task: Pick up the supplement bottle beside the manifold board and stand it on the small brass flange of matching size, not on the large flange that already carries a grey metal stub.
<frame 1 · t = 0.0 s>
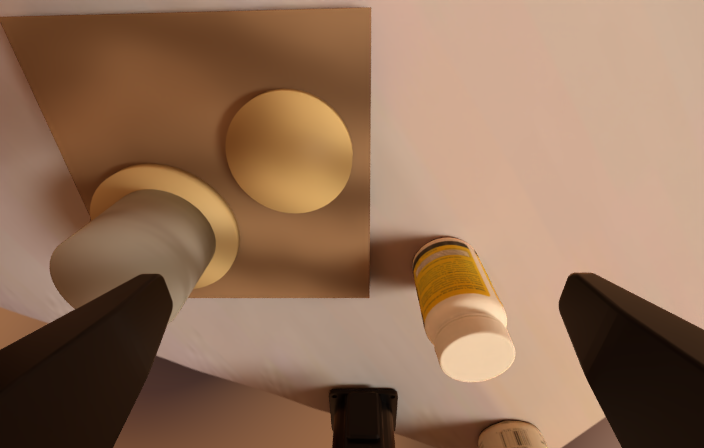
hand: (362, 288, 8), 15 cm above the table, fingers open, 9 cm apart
spray can: (507, 434, 37), on the table
supplement bottle: (443, 261, 26), on the table
manifold board: (229, 176, 22), on the table
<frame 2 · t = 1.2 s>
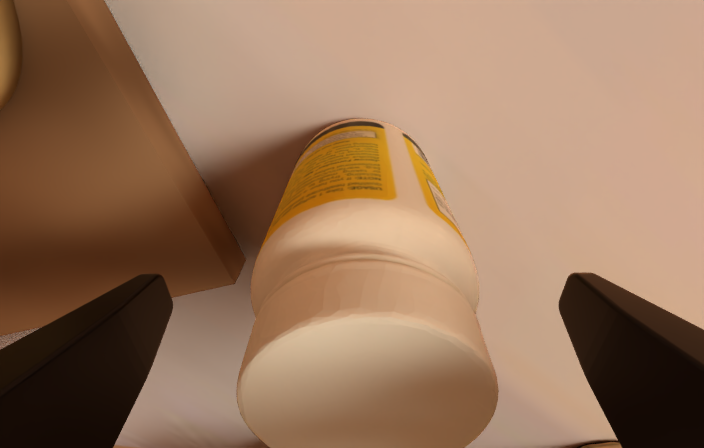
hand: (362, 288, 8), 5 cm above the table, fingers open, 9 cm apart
supplement bottle: (362, 180, 13), on the table
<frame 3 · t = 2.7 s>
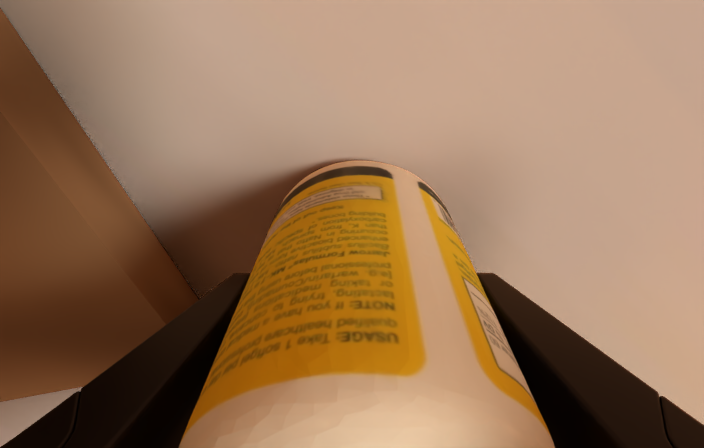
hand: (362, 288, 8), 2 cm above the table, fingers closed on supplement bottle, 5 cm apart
supplement bottle: (362, 234, 10), on the table, touching gripper
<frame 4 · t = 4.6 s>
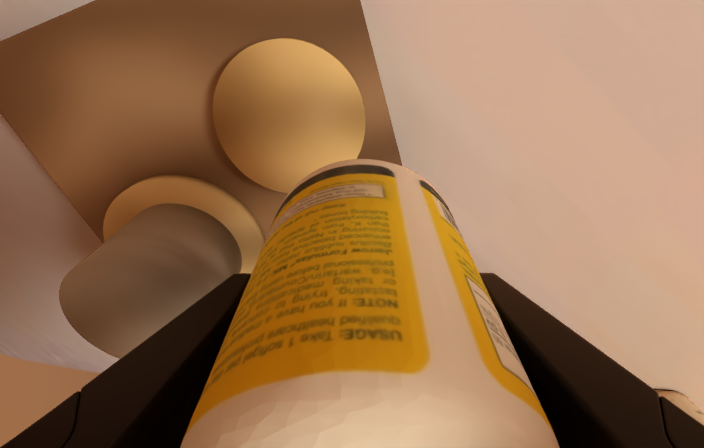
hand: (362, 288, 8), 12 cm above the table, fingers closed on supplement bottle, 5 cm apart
spray can: (645, 409, 30), on the table
supplement bottle: (363, 233, 10), point 10 cm above the table, touching gripper
manifold board: (237, 172, 20), on the table
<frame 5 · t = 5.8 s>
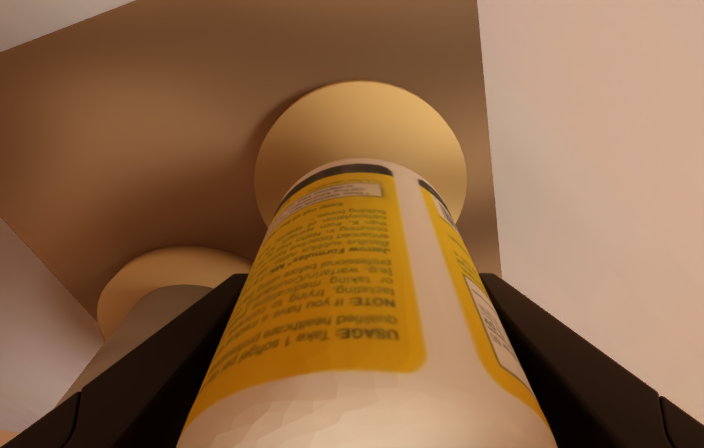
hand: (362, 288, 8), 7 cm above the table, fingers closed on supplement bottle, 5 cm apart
supplement bottle: (362, 232, 10), point 5 cm above the table, touching gripper
manifold board: (273, 236, 15), on the table
when the fingers open (5 cm above the table, at t = 6.8 s): supplement bottle drops 1 cm, resting on manifold board.
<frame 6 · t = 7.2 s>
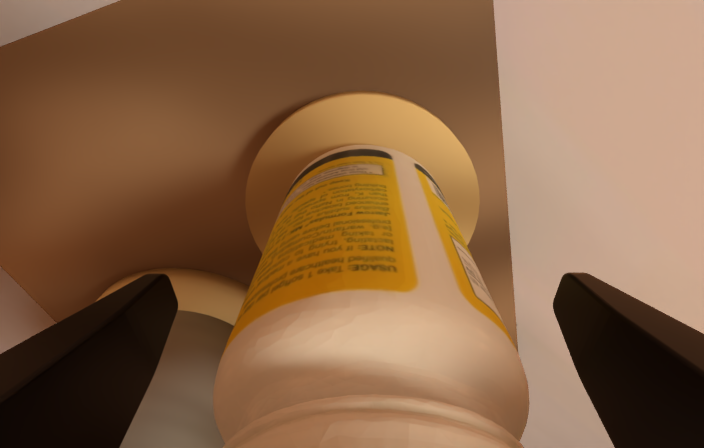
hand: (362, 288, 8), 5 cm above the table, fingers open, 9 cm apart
supplement bottle: (364, 214, 11), point 2 cm above the table, touching manifold board
manifold board: (268, 256, 14), on the table
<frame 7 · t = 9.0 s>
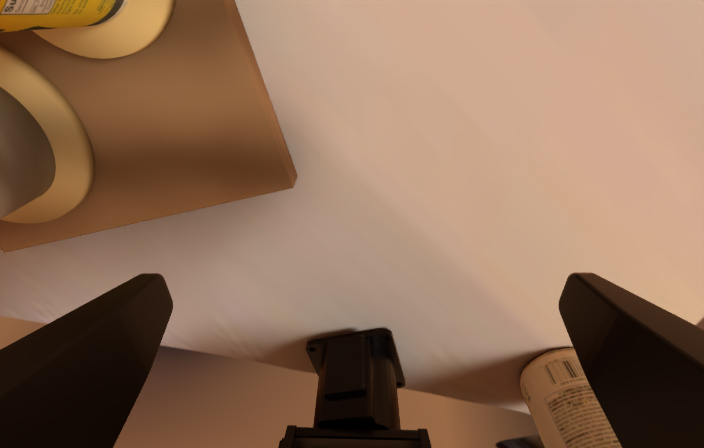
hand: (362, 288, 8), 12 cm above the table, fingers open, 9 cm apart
spray can: (559, 370, 28), on the table
manifold board: (47, 41, 16), on the table
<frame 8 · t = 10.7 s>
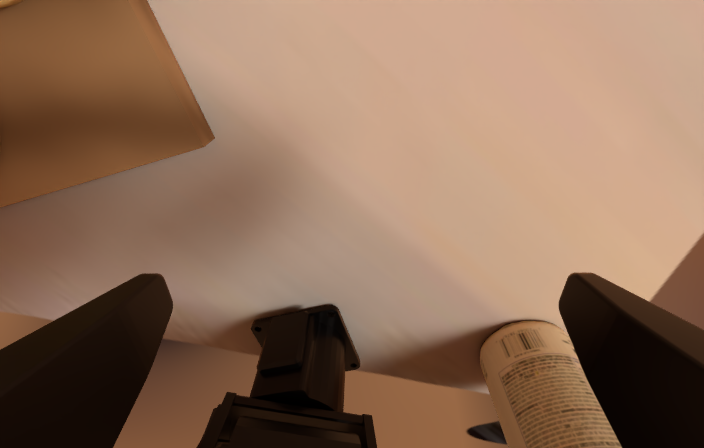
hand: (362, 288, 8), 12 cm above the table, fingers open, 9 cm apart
spray can: (520, 346, 26), on the table
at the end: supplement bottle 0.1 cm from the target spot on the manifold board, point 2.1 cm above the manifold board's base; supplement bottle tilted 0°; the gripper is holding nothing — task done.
